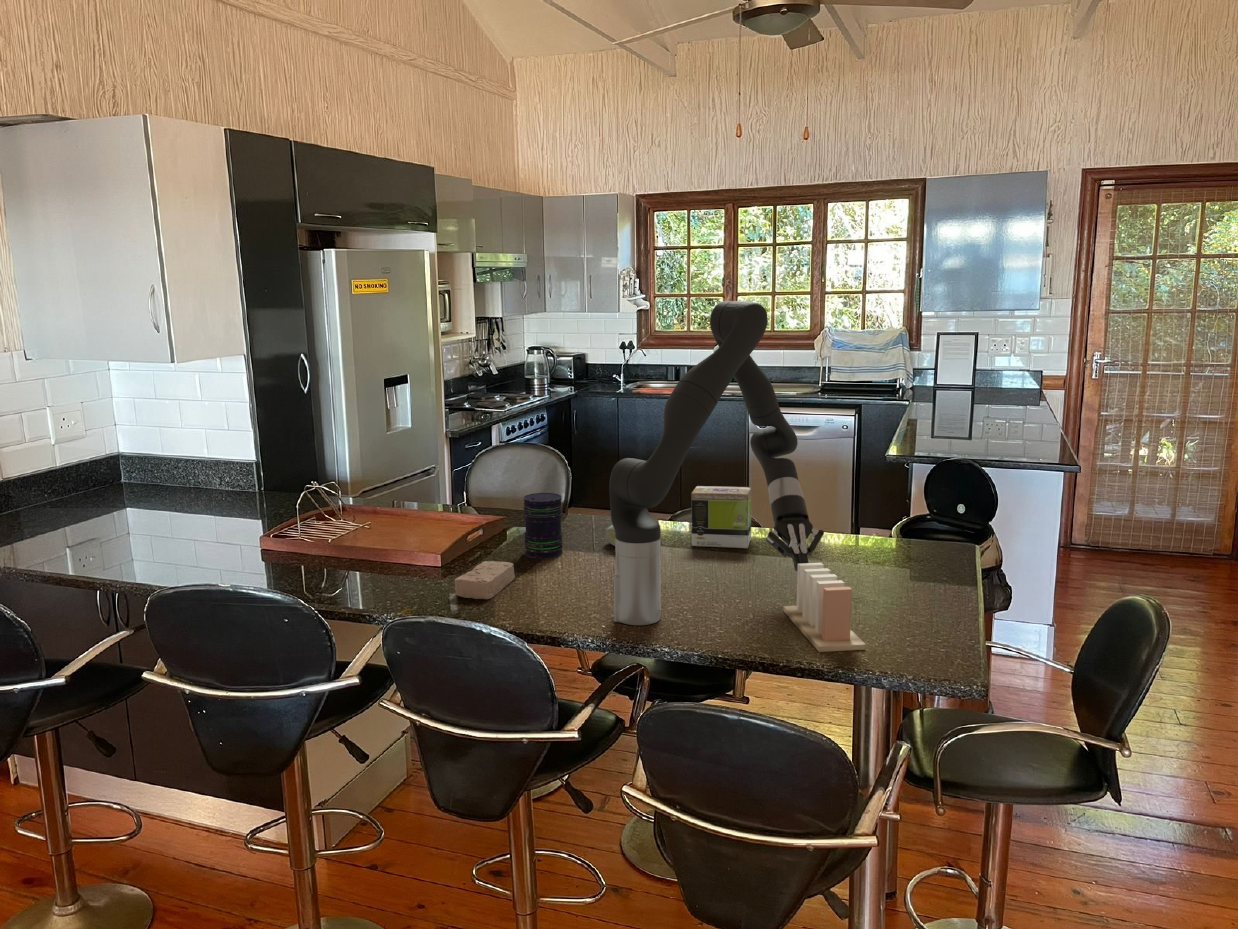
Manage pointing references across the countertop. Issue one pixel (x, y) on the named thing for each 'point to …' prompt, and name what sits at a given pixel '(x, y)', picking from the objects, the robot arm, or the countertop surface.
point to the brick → (485, 580)
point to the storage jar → (543, 525)
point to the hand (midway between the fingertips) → (803, 572)
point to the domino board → (816, 638)
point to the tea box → (721, 516)
